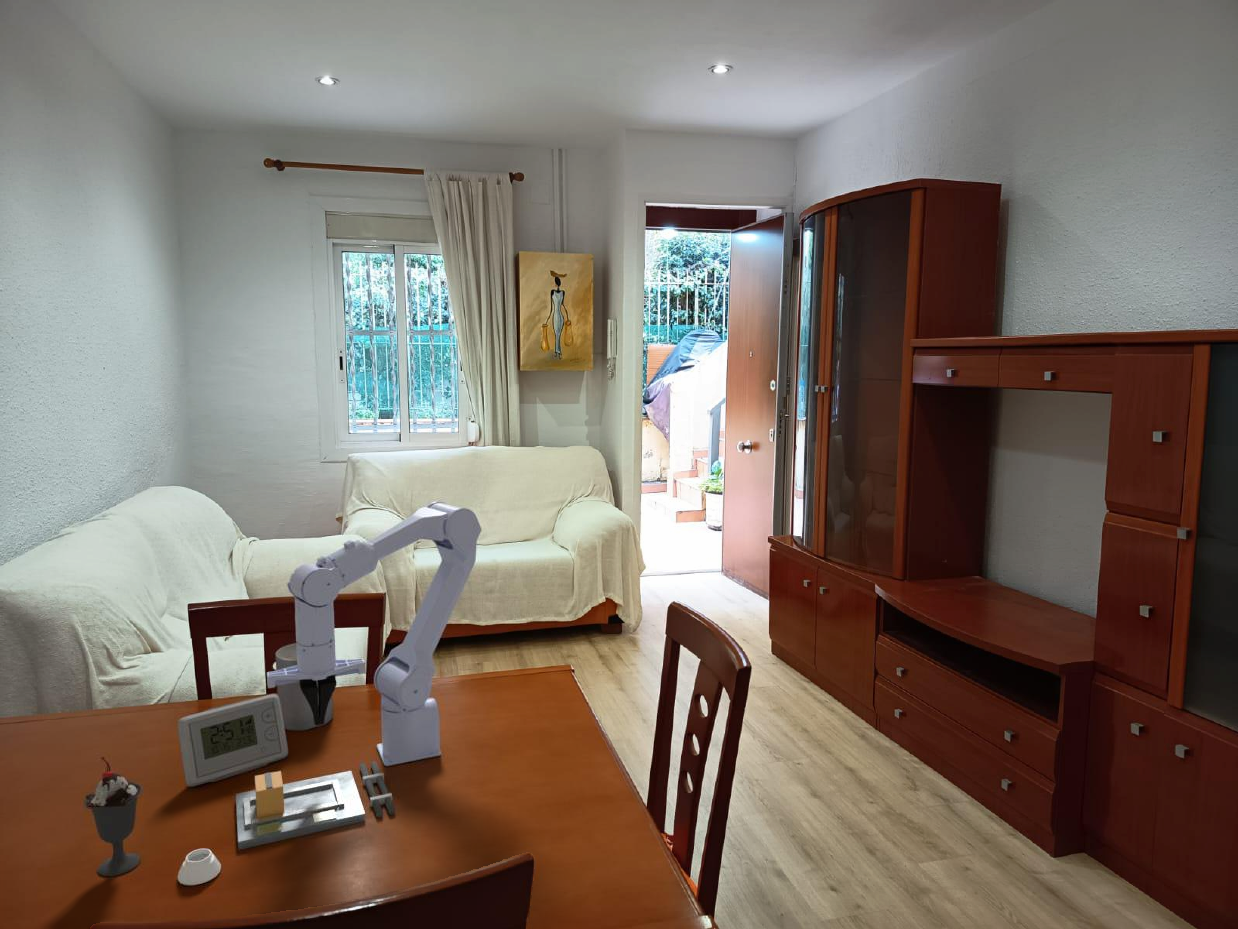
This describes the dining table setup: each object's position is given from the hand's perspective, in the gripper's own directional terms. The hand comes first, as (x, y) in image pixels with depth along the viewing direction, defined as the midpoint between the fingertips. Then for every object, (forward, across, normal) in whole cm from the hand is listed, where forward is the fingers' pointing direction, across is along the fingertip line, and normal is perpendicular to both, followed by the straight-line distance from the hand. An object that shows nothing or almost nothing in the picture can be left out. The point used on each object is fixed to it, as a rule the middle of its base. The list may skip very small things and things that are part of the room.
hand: (319, 722), depth 131 cm
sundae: (+10, -27, -12) cm, 31 cm away
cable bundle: (+10, +8, -7) cm, 14 cm away
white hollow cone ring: (+10, -17, -19) cm, 27 cm away
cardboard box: (+9, -8, -8) cm, 14 cm away
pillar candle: (+10, 0, +25) cm, 27 cm away
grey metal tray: (+10, -4, -8) cm, 13 cm away
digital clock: (+10, -12, +10) cm, 19 cm away
